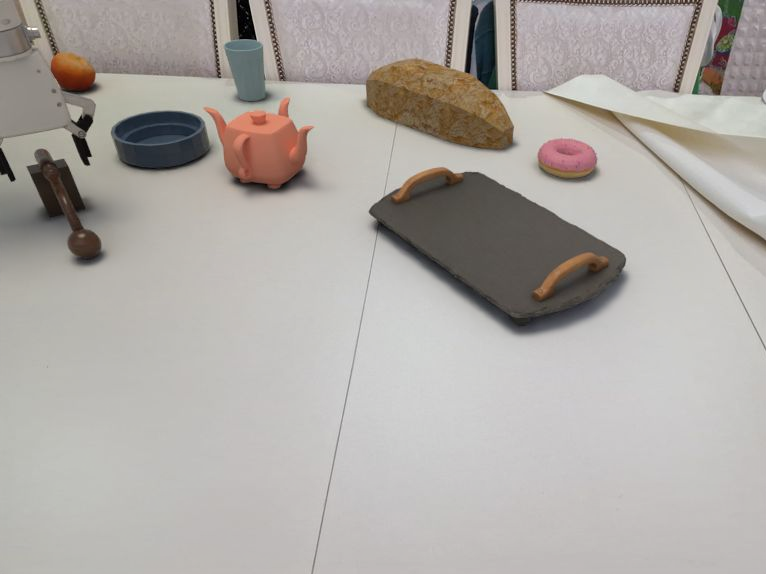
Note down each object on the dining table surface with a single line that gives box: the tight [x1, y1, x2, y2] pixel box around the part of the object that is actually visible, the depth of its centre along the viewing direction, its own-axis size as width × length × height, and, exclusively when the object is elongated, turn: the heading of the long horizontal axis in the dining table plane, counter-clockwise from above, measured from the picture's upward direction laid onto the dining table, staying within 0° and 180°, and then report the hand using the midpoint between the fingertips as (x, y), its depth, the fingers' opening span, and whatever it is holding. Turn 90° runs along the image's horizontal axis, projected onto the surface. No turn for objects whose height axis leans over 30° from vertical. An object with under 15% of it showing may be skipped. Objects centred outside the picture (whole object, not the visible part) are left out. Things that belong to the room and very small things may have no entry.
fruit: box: [50, 52, 97, 92], centre depth 129 cm, size 8×8×8 cm
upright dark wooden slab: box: [25, 158, 86, 218], centre depth 92 cm, size 3×5×7 cm, turn 127°
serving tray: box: [368, 166, 627, 327], centre depth 90 cm, size 39×23×6 cm, turn 41°
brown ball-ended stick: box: [33, 148, 103, 260], centre depth 87 cm, size 20×4×9 cm, turn 37°
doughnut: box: [536, 137, 598, 179], centre depth 112 cm, size 11×11×4 cm
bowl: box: [110, 109, 211, 169], centre depth 109 cm, size 15×15×4 cm
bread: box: [365, 57, 515, 151], centre depth 124 cm, size 36×11×10 cm, turn 53°
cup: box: [223, 38, 267, 102], centre depth 129 cm, size 8×8×10 cm
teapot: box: [203, 97, 315, 189], centre depth 102 cm, size 14×14×11 cm
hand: (49, 169), depth 89 cm, fingers open, 9 cm apart
